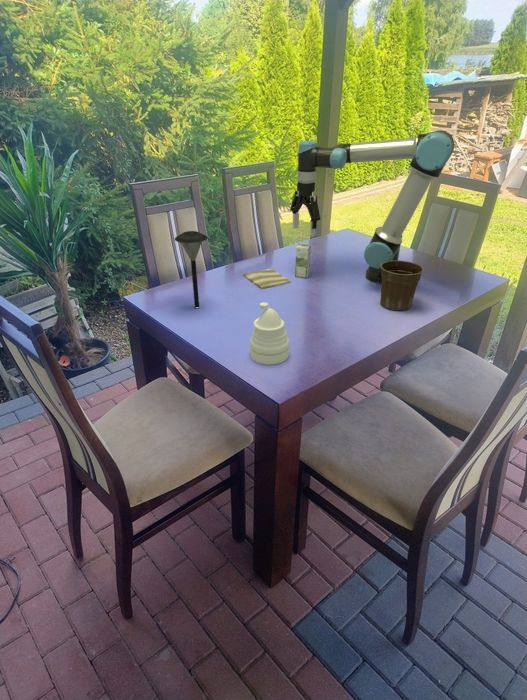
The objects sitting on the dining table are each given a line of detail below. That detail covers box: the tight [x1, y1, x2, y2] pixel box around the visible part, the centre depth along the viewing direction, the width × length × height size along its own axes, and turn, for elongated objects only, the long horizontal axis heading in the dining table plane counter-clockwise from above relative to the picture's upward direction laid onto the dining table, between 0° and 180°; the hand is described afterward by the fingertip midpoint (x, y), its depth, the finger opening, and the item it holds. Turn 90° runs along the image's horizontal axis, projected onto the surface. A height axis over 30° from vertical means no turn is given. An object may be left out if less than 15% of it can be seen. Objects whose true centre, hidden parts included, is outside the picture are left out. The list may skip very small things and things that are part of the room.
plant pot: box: [379, 259, 424, 312], centre depth 177 cm, size 16×16×16 cm
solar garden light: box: [174, 230, 209, 308], centre depth 170 cm, size 12×12×30 cm
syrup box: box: [294, 243, 312, 279], centre depth 204 cm, size 6×6×14 cm
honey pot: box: [249, 301, 290, 366], centre depth 143 cm, size 13×13×18 cm
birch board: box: [242, 268, 291, 290], centre depth 204 cm, size 18×15×1 cm
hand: (303, 232), depth 197 cm, fingers open, 13 cm apart
